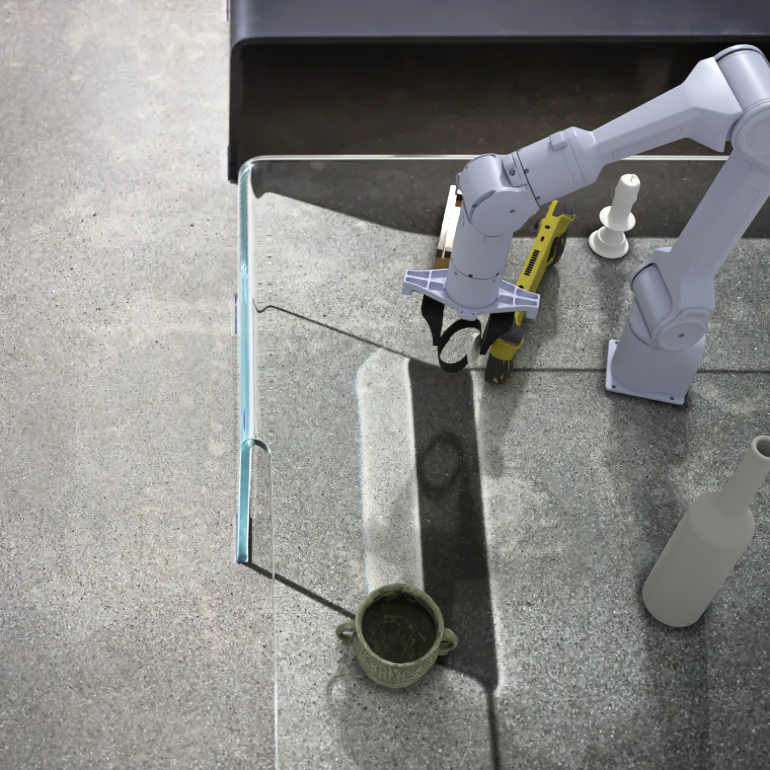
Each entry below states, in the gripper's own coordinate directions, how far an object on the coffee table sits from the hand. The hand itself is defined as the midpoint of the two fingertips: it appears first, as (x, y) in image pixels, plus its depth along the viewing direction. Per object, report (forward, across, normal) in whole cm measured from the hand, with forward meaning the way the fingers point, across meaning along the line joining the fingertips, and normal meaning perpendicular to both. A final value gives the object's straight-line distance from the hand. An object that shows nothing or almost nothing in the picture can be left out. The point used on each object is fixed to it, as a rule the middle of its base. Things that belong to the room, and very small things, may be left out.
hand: (459, 343), depth 130 cm
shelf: (+8, -1, +24) cm, 25 cm away
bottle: (+9, +27, -22) cm, 36 cm away
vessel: (+8, -1, -34) cm, 35 cm away
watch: (+2, 0, 0) cm, 2 cm away
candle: (+9, +17, +29) cm, 35 cm away
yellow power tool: (+9, +7, +13) cm, 17 cm away
